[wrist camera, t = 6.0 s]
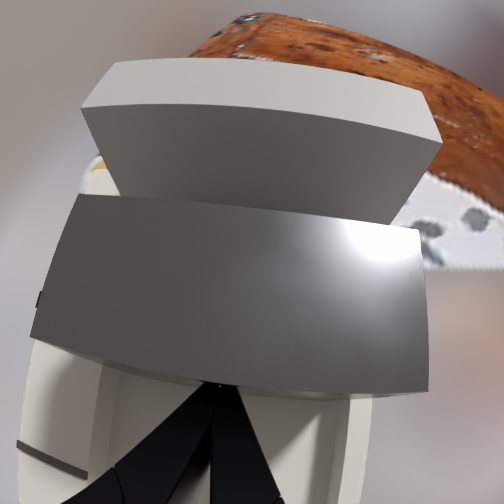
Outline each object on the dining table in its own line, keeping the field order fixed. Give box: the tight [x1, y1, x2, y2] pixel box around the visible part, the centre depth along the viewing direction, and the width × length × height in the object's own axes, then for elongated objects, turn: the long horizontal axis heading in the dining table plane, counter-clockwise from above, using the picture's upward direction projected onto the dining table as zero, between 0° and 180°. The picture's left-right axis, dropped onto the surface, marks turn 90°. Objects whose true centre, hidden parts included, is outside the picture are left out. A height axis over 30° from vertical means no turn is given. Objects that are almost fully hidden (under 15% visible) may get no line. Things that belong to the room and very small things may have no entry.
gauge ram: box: [30, 194, 429, 401], centre depth 11 cm, size 4×14×9 cm, turn 83°
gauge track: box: [17, 58, 443, 504], centre depth 10 cm, size 20×16×10 cm
